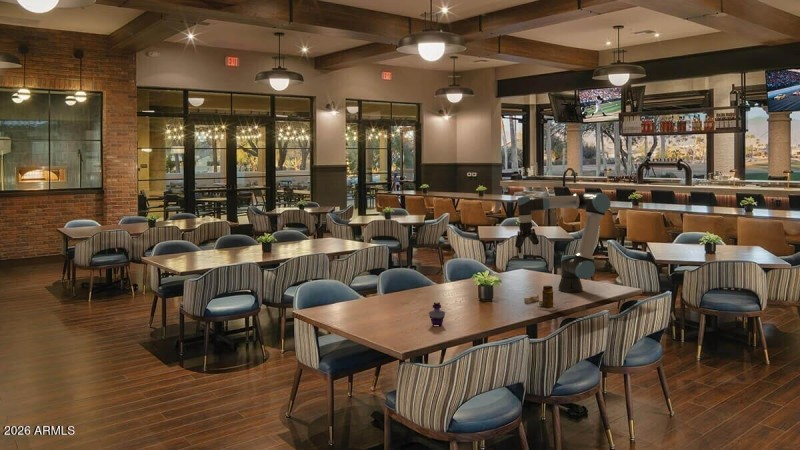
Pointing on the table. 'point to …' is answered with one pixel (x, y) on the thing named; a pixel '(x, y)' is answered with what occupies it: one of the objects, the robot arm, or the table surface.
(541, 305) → the plate
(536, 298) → the rail holder
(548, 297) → the condiment
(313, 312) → the table surface
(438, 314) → the potion bottle
